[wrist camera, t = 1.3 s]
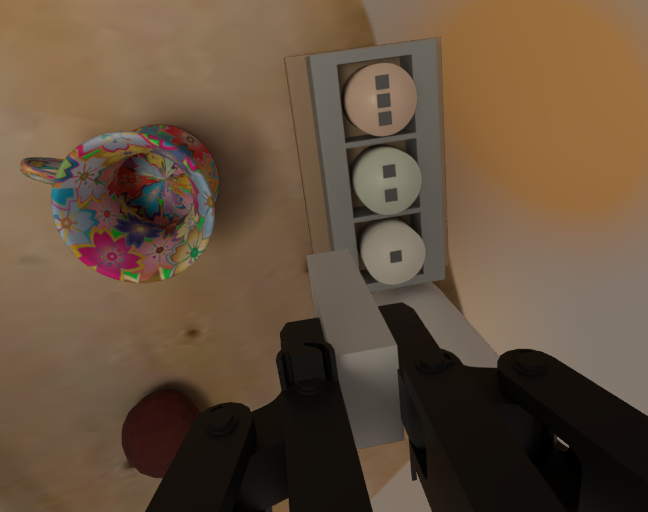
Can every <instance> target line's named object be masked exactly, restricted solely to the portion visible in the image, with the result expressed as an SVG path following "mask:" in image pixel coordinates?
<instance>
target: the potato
mask: <svg viewBox="0 0 648 512" xmlns="http://www.w3.org/2000/svg"><path fill="white" fill-rule="evenodd" d="M198 415H200V413H199V411H198V409H197V407H196V406H195V405H194V403H193V402H192V401H191V400H190V399H189V398H188V397H187V396H185V395H184V394H182V393H181V392H178V391H174V390H161V391H157V392H155V393H153V394H151V395H148V396H146V397H144V398H143V399H142V400H141V401H140V402H139V403H138V404H137V405H136V406H134V407H133V408H132V409H131V410H130V411H129V413H128V415H127V417H126V420H125V422H124V424H123V428H122V447H123V450H124V453H125V455H126V457H127V459H128V461H129V463H130V464H131V465H133V466H134V467H135V468H136V469H137V470H138V471H139V472H140V473H142V474H145V475H148V476H151V477H154V478H163V477H164V475H165V474H166V472H167V470H168V468H169V466H170V464H171V462H172V460H173V458H174V457H175V455H176V453H177V451H178V449H179V447H180V445H181V443H182V442H183V440H184V438H185V436H186V434H187V432H188V430H189V428H190V426H191V425H192V423H193V422H194V420H195V419H196V418H197V417H198Z"/></svg>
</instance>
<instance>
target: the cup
mask: <svg viewBox="0 0 648 512" xmlns="http://www.w3.org/2000/svg"><path fill="white" fill-rule="evenodd" d="M372 297H373V299H374V301H375V303H376V305H377V306H382V305H388V304H394V303H400V302H403V303H405V304H406V305H408V306H410V307H412V308H413V309H414V310H415V311H416V313H417V314H418V316H419V317H420V319H421V320H422V322H423V323H424V325H425V327H426V328H427V329H428V331H429V332H430V334H431V335H432V337H433V338H434V340H435V341H436V343H437V344H438V346H439V347H440V349H445V350H447V351H450V352H452V353H454V354H455V355H456V356H457V357H458V358H459V359H460V360H461V362H462V363H463V365H466V366H472V367H490V368H497V361H498V359H499V356H498V354H497V353H496V352H495V351H494V350H493V349H492V348H491V347H490V345H489V344H488V343H487V342H486V341H485V340H484V339H483V337H482V336H481V335H480V334H479V333H478V332H477V331H476V330H475V329H474V328H473V326H472V325H471V324H470V323H469V322H468V321H467V319H466V318H465V317H464V316H463V315H462V314H461V313H460V312H459V310H458V309H457V308H456V307H455V306H454V305H453V304H452V303H451V301H450V300H449V299H448V298H447V297H446V296H445V295H444V294H443V293H442V291H441V290H440V289H439V288H438V287H437V286H436V285H435V284H434V283H432V282H427V283H421V284H415V285H410V286H404V287H399V288H393V289H387V290H382V291H376V292H374V293H373V294H372Z"/></svg>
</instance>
